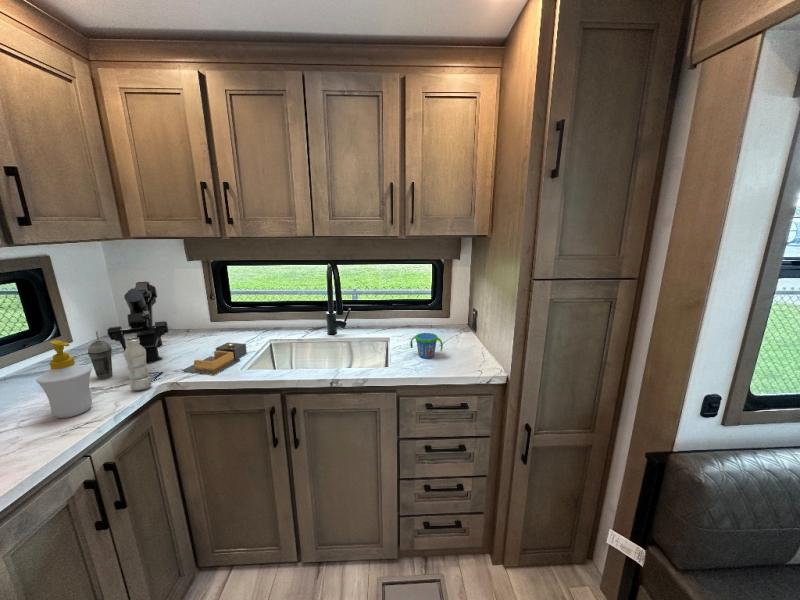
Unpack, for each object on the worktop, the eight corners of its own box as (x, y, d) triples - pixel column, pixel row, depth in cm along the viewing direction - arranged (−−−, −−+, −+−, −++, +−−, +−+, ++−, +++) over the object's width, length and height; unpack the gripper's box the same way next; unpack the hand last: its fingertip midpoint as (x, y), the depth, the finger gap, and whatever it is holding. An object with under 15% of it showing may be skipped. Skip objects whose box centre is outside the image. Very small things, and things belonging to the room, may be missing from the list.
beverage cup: (114, 371, 139) (106, 326, 135) (118, 376, 134) (109, 330, 130) (91, 377, 133) (81, 331, 129) (95, 383, 129) (85, 334, 124)
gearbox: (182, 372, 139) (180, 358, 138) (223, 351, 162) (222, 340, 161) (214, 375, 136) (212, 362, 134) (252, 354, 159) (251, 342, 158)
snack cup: (406, 357, 156) (407, 336, 154) (415, 350, 165) (415, 330, 163) (438, 362, 150) (438, 341, 148) (444, 355, 159) (445, 335, 157)
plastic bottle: (140, 393, 120) (131, 342, 116) (125, 392, 122) (116, 341, 118) (156, 385, 127) (148, 336, 122) (142, 384, 128) (133, 335, 124)
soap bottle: (59, 426, 100) (40, 351, 95) (37, 417, 105) (18, 345, 100) (107, 406, 112) (93, 337, 107) (86, 399, 117) (71, 333, 111)
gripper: (103, 307, 124) (102, 343, 117) (163, 302, 134) (166, 335, 127) (111, 322, 132) (111, 356, 126) (167, 316, 142) (170, 347, 135)
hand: (140, 348), depth 128 cm, fingers open, 9 cm apart
